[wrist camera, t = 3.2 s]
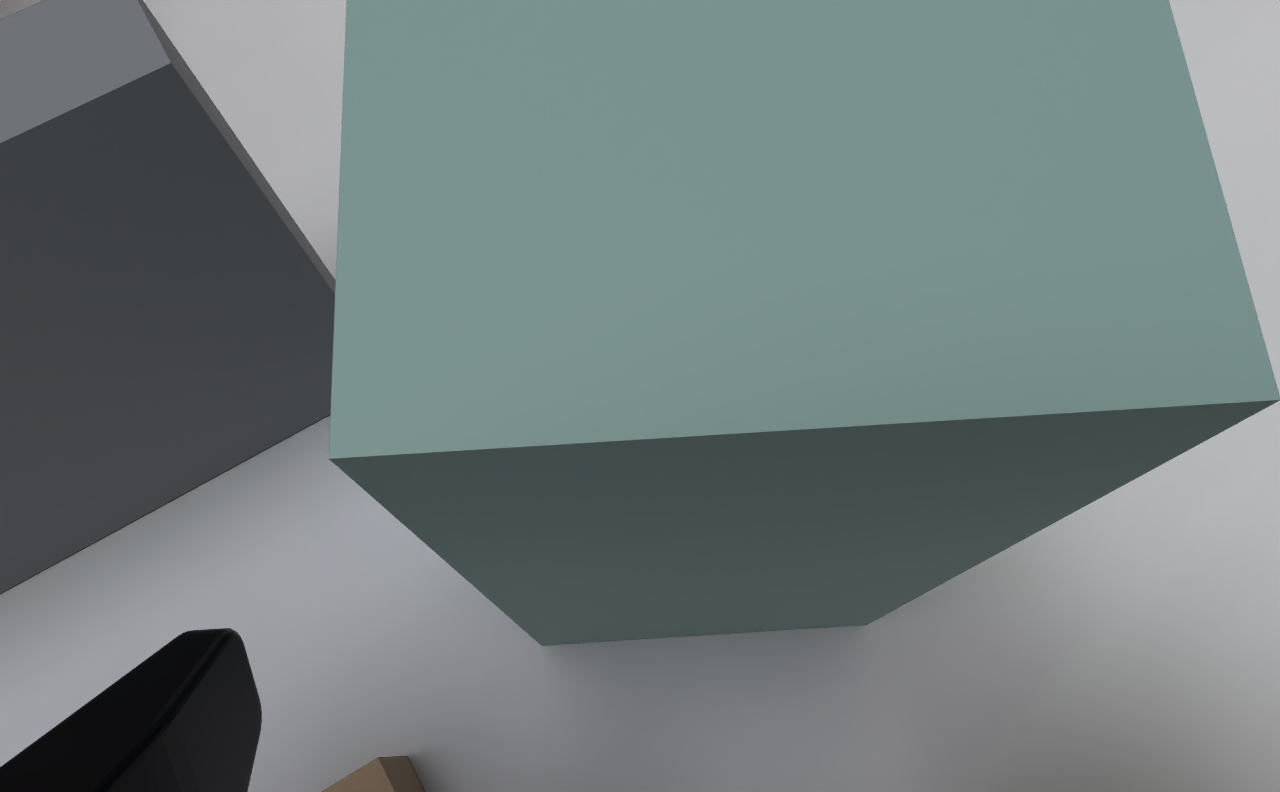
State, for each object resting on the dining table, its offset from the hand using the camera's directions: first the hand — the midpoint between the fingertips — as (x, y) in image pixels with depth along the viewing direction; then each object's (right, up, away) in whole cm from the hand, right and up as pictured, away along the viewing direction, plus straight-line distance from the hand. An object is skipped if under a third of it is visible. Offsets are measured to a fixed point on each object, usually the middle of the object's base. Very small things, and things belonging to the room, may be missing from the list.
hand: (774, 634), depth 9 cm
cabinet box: (0, 0, +11) cm, 11 cm away
